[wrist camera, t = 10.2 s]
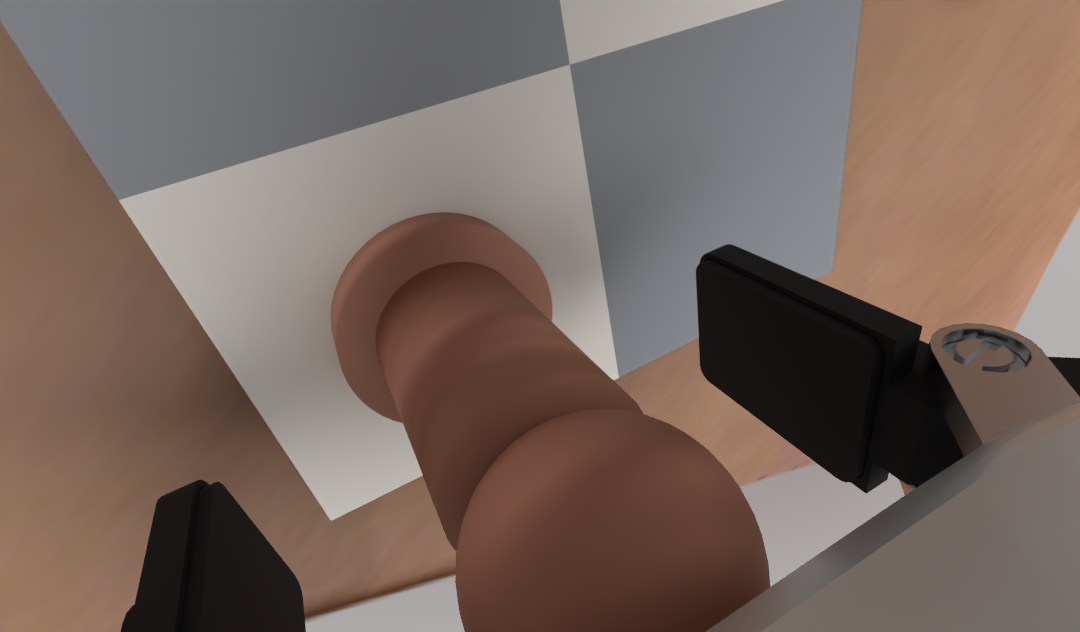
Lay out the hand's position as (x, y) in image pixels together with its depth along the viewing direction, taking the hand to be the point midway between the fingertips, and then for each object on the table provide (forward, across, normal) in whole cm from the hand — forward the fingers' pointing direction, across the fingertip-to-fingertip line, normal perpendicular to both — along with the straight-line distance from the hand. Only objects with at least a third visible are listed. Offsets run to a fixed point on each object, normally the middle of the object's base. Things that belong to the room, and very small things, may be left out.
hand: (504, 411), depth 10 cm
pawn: (+4, 0, 0) cm, 4 cm away
